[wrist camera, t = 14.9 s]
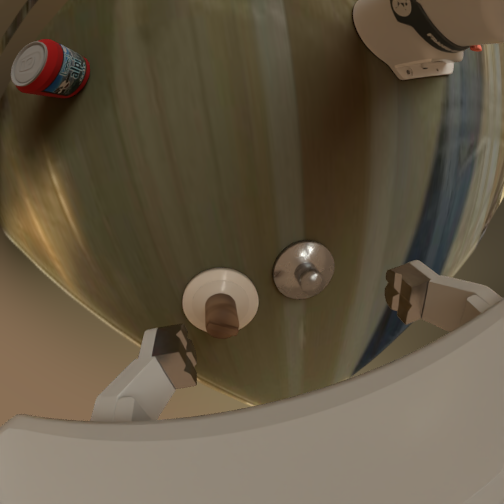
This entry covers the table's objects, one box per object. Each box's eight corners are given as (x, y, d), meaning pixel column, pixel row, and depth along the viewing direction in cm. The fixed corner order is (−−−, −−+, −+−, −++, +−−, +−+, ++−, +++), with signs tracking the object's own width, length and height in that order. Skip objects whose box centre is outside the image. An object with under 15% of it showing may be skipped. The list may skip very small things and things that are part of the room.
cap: (240, 298, 42) (245, 321, 37) (229, 321, 44) (232, 345, 39) (211, 289, 41) (212, 312, 36) (201, 313, 43) (200, 337, 37)
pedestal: (329, 233, 42) (343, 246, 37) (333, 287, 46) (345, 302, 41) (267, 248, 41) (275, 263, 37) (277, 302, 45) (284, 320, 41)
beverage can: (89, 95, 28) (45, 85, 17) (51, 102, 27) (2, 98, 16) (95, 52, 25) (56, 28, 14) (57, 60, 24) (13, 45, 13)
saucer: (249, 259, 41) (250, 263, 40) (263, 320, 47) (264, 325, 45) (172, 277, 41) (171, 282, 40) (195, 335, 46) (195, 340, 45)
